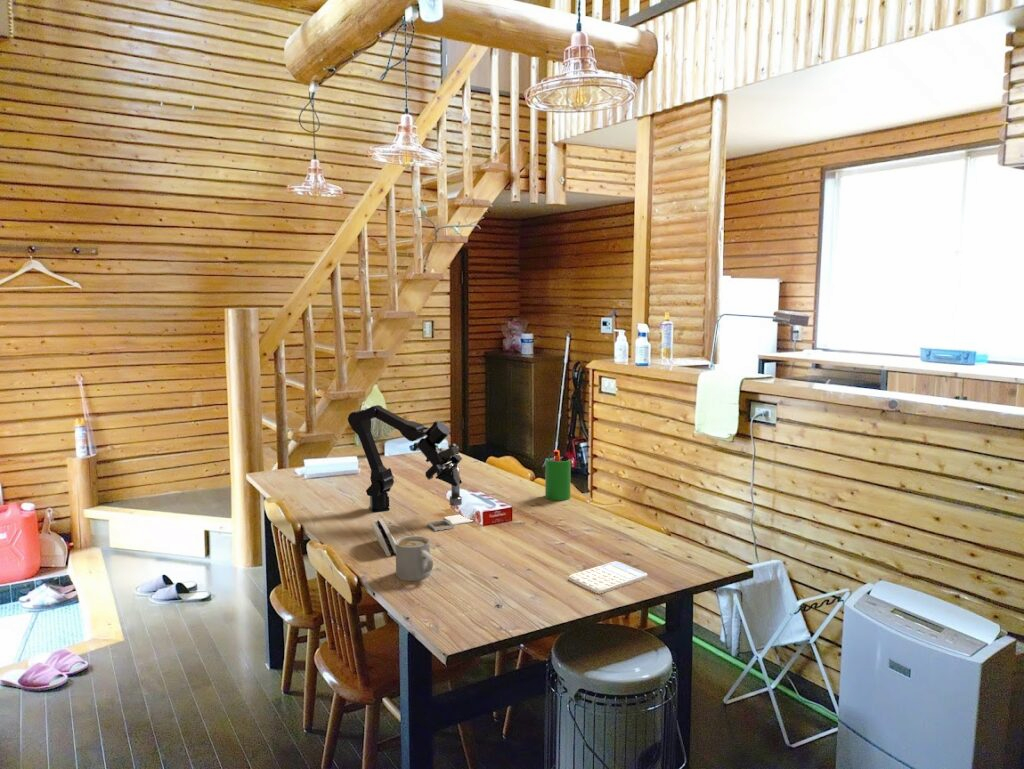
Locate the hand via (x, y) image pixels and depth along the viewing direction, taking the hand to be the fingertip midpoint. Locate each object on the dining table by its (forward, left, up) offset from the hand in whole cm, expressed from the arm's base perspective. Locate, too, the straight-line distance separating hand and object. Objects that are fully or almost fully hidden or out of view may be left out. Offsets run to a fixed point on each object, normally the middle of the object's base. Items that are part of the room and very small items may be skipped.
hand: (458, 484), depth 256 cm
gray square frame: (-9, -4, -13) cm, 16 cm away
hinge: (-32, -15, -14) cm, 38 cm away
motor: (+47, +9, -14) cm, 49 cm away
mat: (0, 0, -13) cm, 13 cm away
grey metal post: (-1, +1, -7) cm, 8 cm away
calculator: (+18, -69, -14) cm, 73 cm away
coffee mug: (-31, -42, -14) cm, 54 cm away
